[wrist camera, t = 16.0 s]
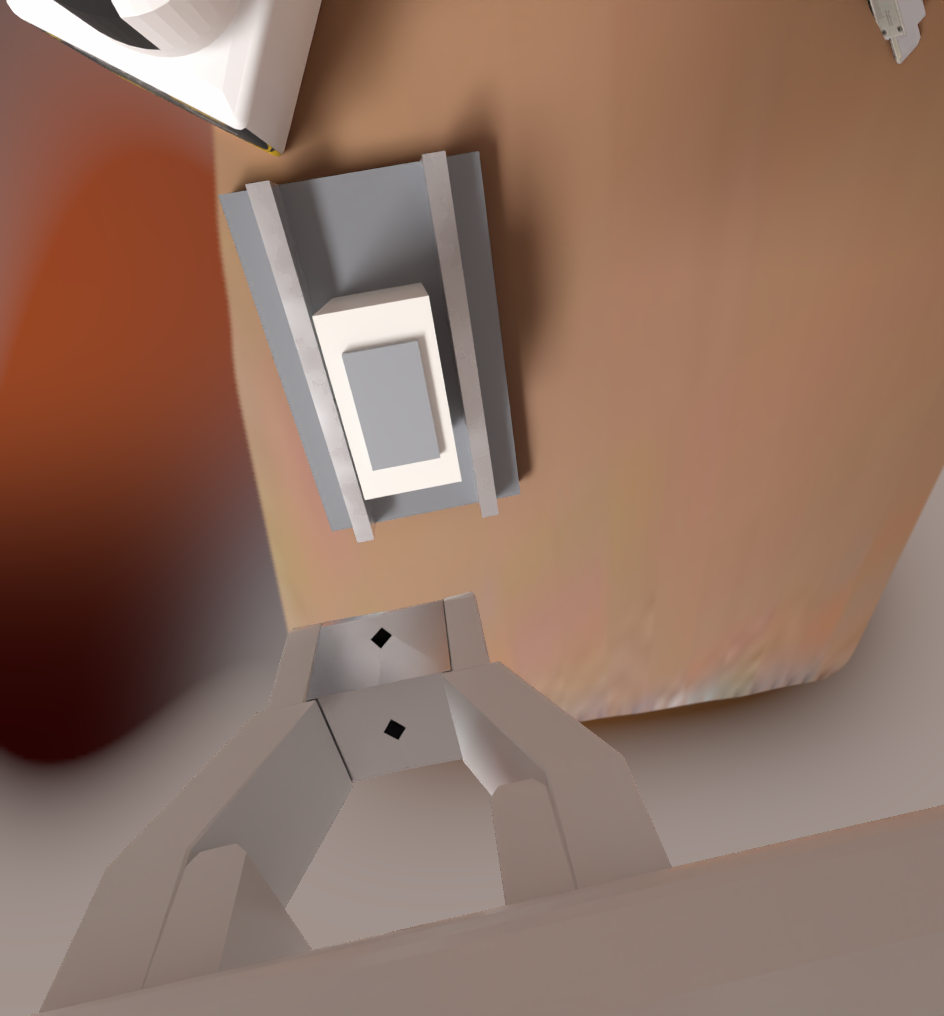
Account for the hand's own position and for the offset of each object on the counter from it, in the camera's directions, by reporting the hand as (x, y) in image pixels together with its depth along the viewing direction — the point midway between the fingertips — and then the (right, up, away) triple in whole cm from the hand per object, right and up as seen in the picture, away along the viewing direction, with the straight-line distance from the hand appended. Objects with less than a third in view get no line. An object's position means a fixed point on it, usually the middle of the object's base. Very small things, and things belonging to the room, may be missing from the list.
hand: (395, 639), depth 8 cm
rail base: (-3, +10, +20) cm, 23 cm away
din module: (-3, +10, +19) cm, 21 cm away
